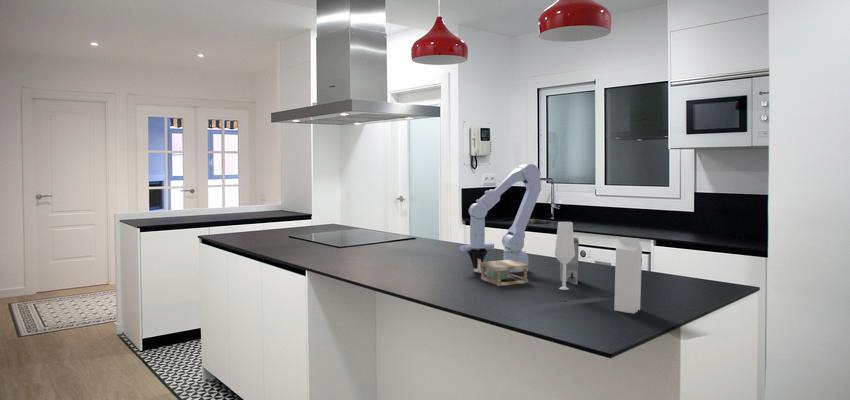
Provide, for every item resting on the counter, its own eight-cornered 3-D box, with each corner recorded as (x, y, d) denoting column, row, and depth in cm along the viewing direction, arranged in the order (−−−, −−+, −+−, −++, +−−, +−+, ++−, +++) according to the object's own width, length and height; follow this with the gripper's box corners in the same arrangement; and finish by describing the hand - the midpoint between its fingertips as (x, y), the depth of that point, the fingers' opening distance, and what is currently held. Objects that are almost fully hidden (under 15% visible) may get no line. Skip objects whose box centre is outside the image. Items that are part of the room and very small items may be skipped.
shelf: (497, 275, 223) (498, 256, 223) (528, 285, 205) (528, 264, 205) (469, 278, 218) (469, 258, 217) (497, 289, 200) (497, 267, 199)
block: (482, 270, 227) (482, 258, 227) (507, 279, 211) (507, 265, 211) (468, 271, 225) (469, 259, 224) (493, 280, 208) (493, 266, 208)
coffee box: (559, 279, 217) (560, 237, 216) (576, 279, 216) (577, 237, 215) (560, 284, 208) (561, 240, 207) (578, 285, 207) (579, 241, 206)
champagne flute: (552, 293, 194) (554, 223, 192) (555, 289, 200) (556, 221, 199) (573, 294, 192) (574, 223, 190) (574, 290, 198) (576, 221, 196)
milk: (620, 306, 177) (622, 236, 175) (640, 309, 173) (642, 237, 172) (613, 310, 172) (615, 238, 170) (634, 313, 168) (636, 239, 167)
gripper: (466, 236, 217) (466, 271, 218) (498, 234, 223) (498, 268, 224) (457, 233, 223) (457, 268, 224) (489, 231, 230) (488, 265, 231)
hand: (477, 268), depth 225 cm, fingers closed on block
